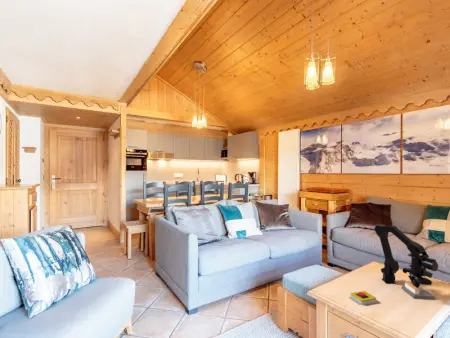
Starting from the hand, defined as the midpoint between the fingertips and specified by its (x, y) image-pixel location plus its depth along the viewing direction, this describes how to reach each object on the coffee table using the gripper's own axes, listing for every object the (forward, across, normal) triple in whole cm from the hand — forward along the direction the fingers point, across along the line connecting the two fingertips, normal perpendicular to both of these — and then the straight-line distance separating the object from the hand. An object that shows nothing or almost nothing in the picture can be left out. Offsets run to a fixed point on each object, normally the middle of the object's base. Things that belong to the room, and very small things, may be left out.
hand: (416, 289), depth 158 cm
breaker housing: (+3, 0, -1) cm, 3 cm away
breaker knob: (+1, 0, +3) cm, 3 cm away
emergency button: (+4, -11, +37) cm, 39 cm away
